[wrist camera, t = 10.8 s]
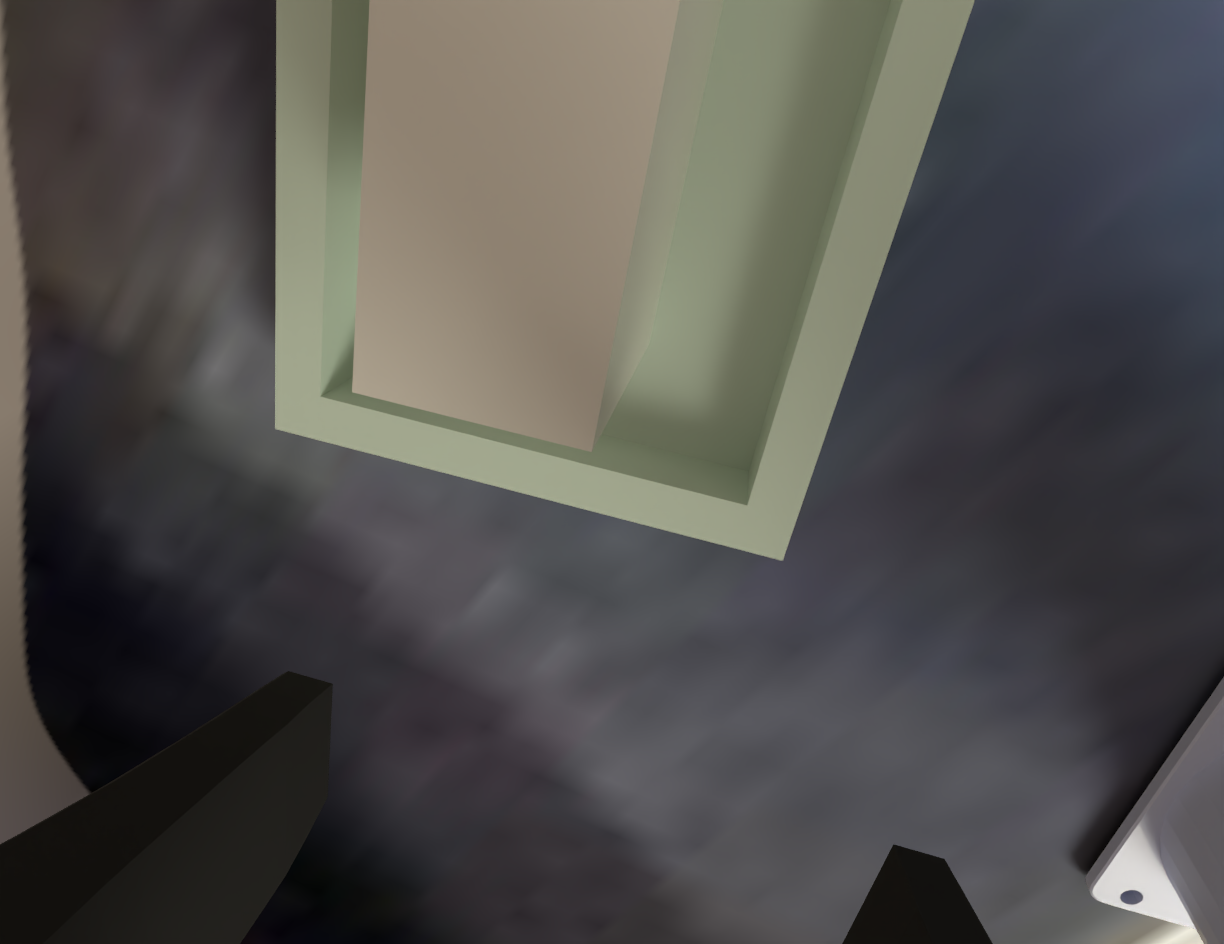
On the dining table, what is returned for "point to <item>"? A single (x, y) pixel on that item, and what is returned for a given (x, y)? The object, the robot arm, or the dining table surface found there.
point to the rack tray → (694, 275)
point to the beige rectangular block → (521, 202)
